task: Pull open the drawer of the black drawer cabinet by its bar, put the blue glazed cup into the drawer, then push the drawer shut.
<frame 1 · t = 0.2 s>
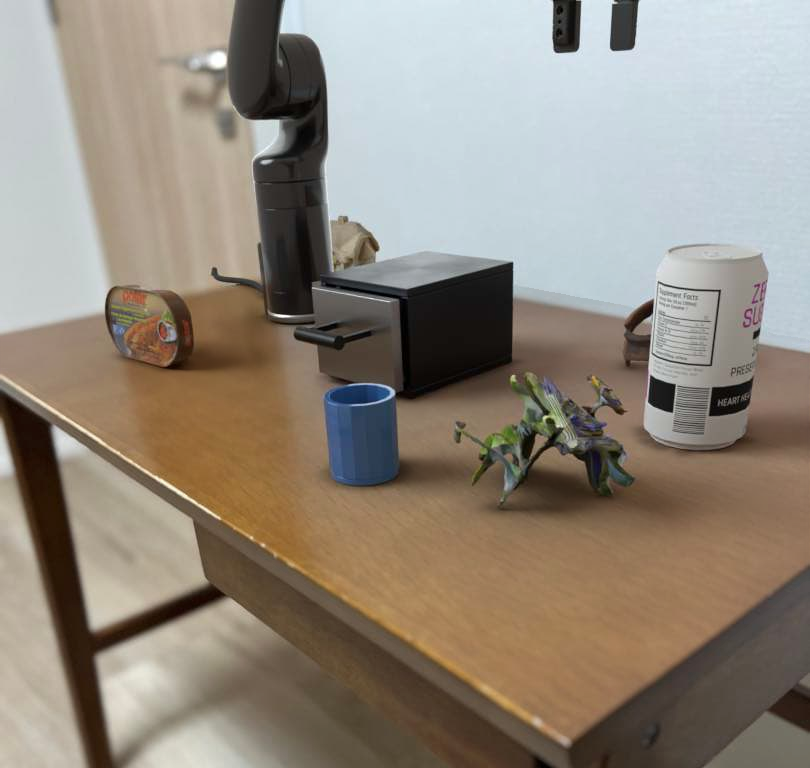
hand: (594, 51, 76), 29 cm above the table, tool pointing down, fingers open, 8 cm apart
ceramic model: (348, 284, 137), on the table
passion flower: (543, 500, 64), on the table
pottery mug: (669, 365, 92), on the table
supplement can: (692, 437, 74), on the table
blue cup: (365, 471, 70), on the table
tin: (155, 361, 103), on the table
black drawer cabinet: (421, 368, 95), on the table
dish drawer: (387, 329, 89), point 5 cm above the table, slide at 0.5 cm
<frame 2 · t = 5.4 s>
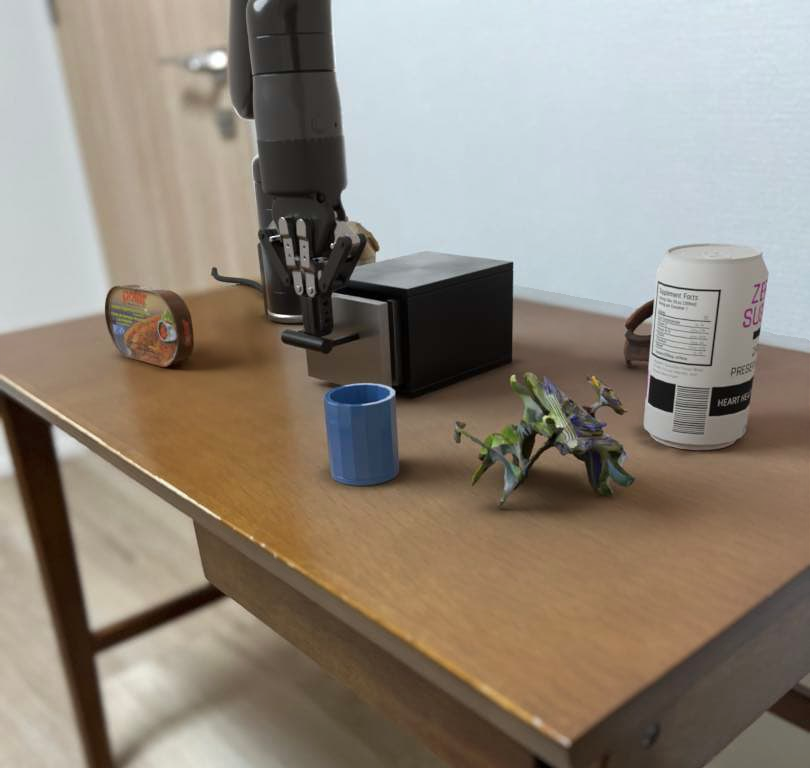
hand: (319, 334, 83), 7 cm above the table, tool pointing down, fingers closed
dish drawer: (376, 332, 88), point 5 cm above the table, slide at 2.0 cm, touching gripper
everything else where it was.
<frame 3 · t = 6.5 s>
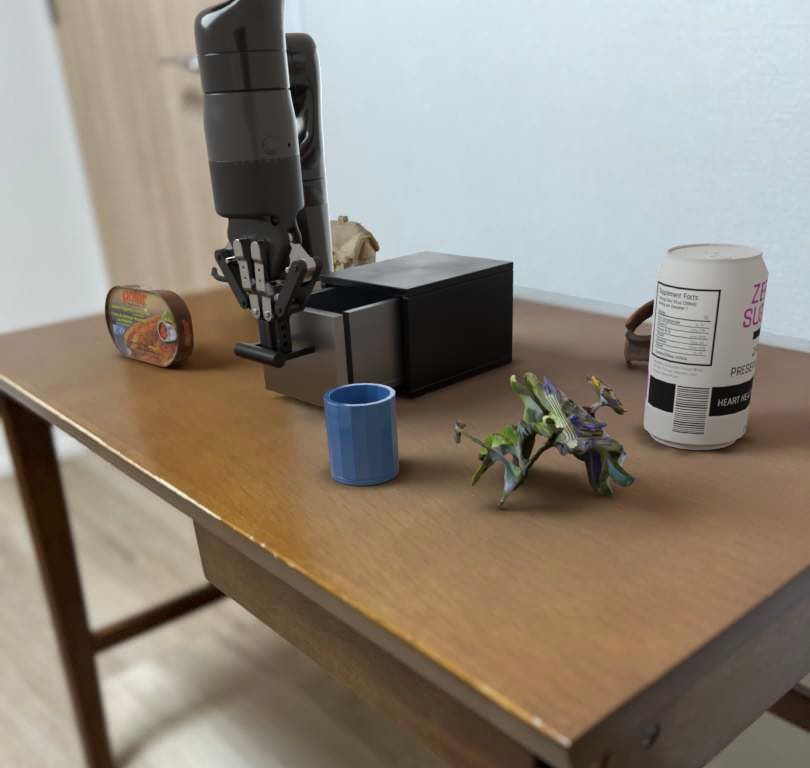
hand: (277, 358, 80), 6 cm above the table, tool pointing down, fingers closed
dish drawer: (335, 344, 85), point 5 cm above the table, slide at 7.5 cm, touching gripper
everything else where it was.
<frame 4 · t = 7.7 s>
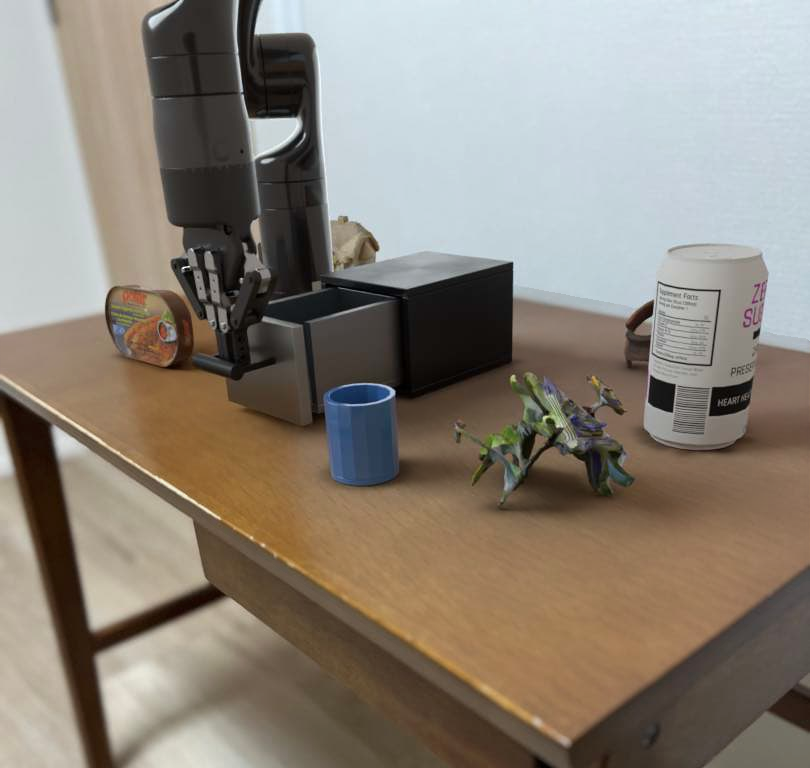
hand: (236, 371, 78), 6 cm above the table, tool pointing down, fingers closed
dish drawer: (299, 355, 82), point 5 cm above the table, slide at 12.0 cm, touching gripper
everything else where it was.
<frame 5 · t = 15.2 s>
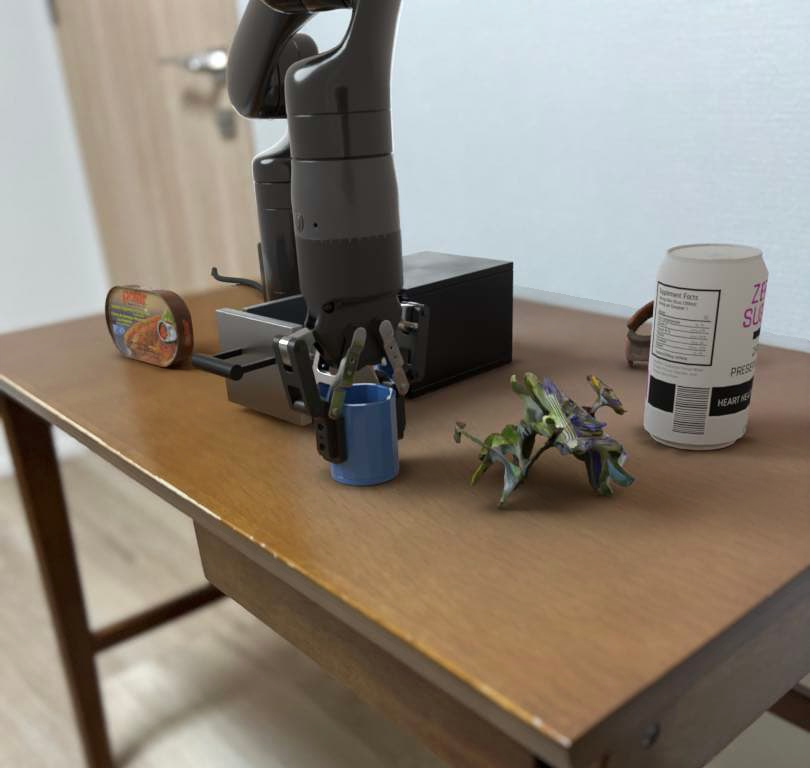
hand: (363, 448, 69), 2 cm above the table, tool pointing down, fingers closed on blue cup, 5 cm apart
blue cup: (365, 471, 70), on the table, touching gripper
dish drawer: (299, 355, 82), point 5 cm above the table, slide at 12.0 cm
everything else where it was.
when the fingers open (7 cm above the table, at t = 35.7 s): blue cup drops 3 cm, resting on dish drawer.
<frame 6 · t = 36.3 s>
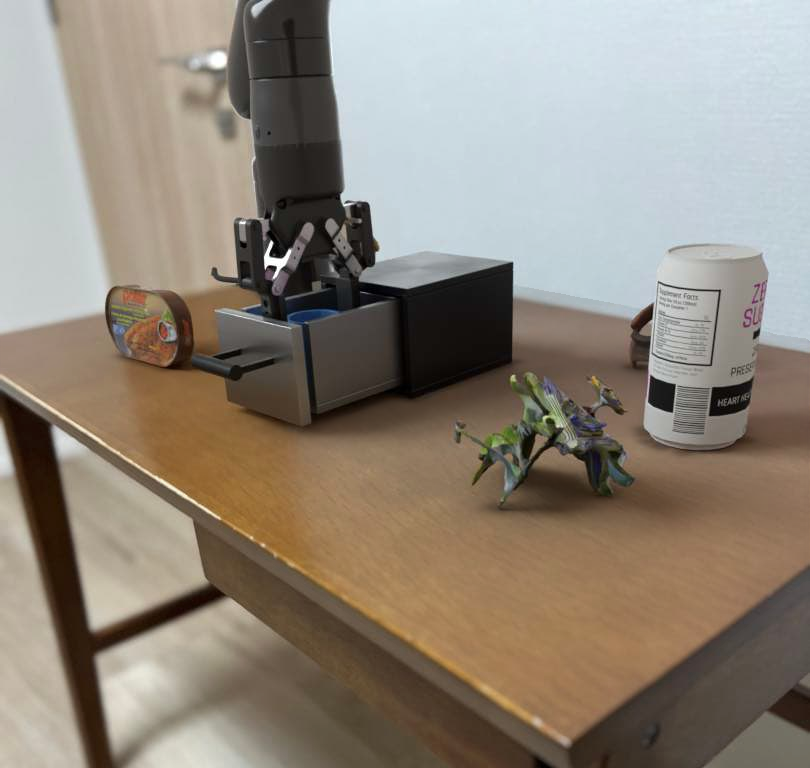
hand: (315, 326, 83), 8 cm above the table, tool pointing down, fingers open, 8 cm apart
blue cup: (320, 383, 85), point 2 cm above the table, touching dish drawer
dish drawer: (298, 355, 82), point 5 cm above the table, slide at 12.1 cm, touching blue cup
everything else where it was.
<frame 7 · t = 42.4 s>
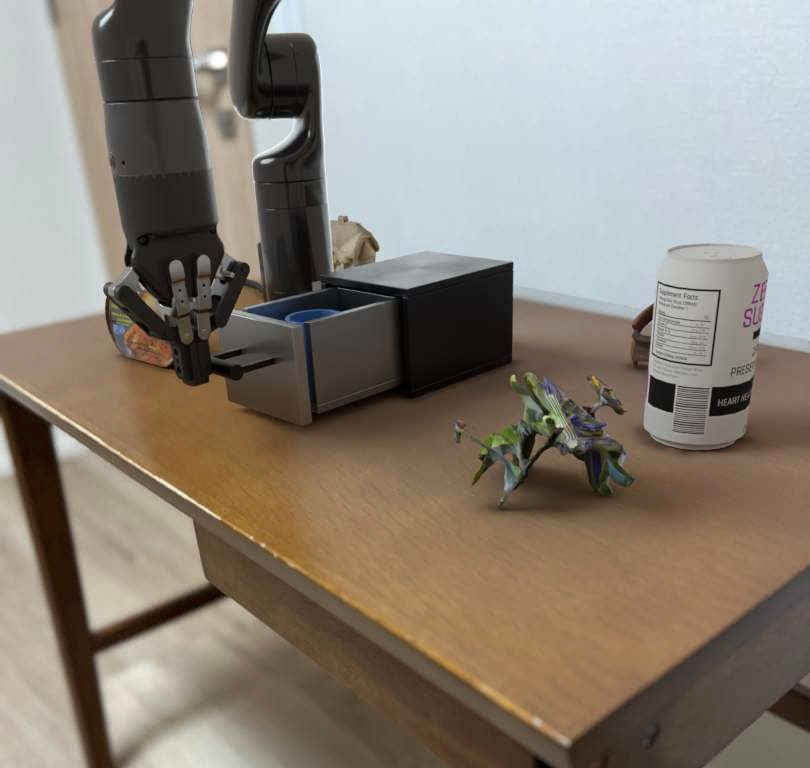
hand: (196, 382, 76), 5 cm above the table, tool pointing down, fingers closed
dish drawer: (299, 355, 82), point 5 cm above the table, slide at 12.0 cm, touching blue cup, gripper
everything else where it was.
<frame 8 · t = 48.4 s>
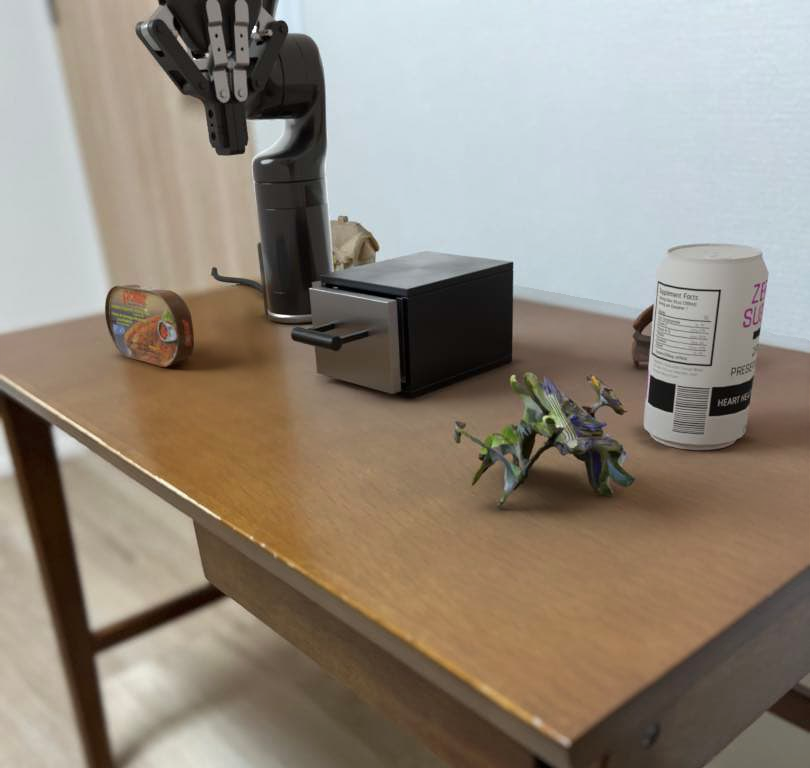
hand: (231, 154, 71), 23 cm above the table, tool pointing down, fingers closed
blue cup: (402, 356, 92), point 2 cm above the table, touching dish drawer
dish drawer: (385, 329, 89), point 5 cm above the table, slide at 0.8 cm, touching blue cup
everything else where it was.
at the end: blue cup inside the target area in the black drawer cabinet (2.7 cm from its centre), point 2.0 cm above the black drawer cabinet's base; dish drawer slide at 0.8 cm; blue cup tilted 0° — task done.
